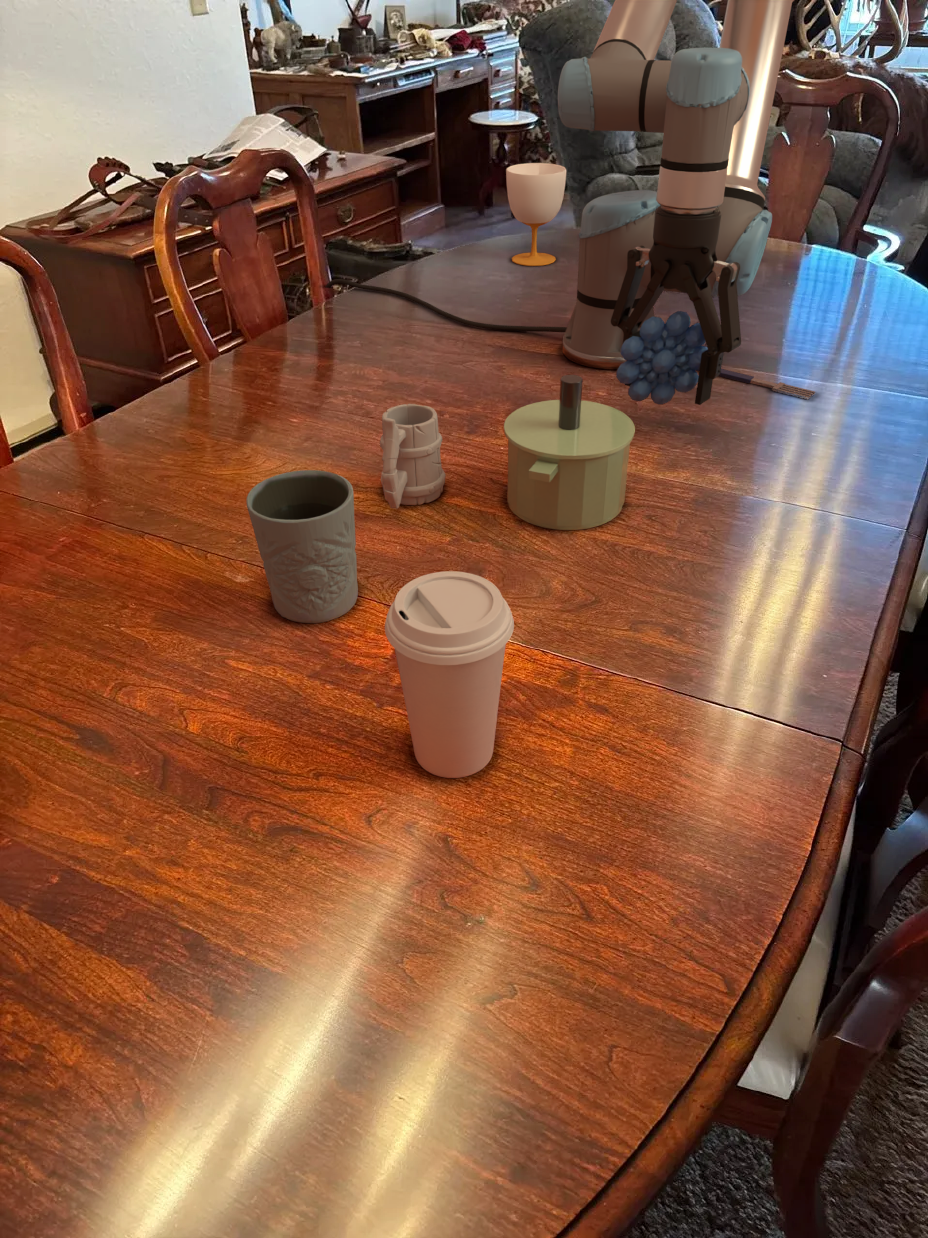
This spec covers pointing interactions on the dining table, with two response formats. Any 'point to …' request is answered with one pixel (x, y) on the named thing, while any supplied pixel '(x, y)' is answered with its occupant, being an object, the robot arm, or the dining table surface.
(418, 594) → the coffee cup
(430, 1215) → the dining table surface
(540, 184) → the cup
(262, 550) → the embossed gray tumbler
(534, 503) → the pot
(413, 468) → the mug
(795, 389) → the spatula
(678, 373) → the grapes
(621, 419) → the pot lid
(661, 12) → the robot arm
